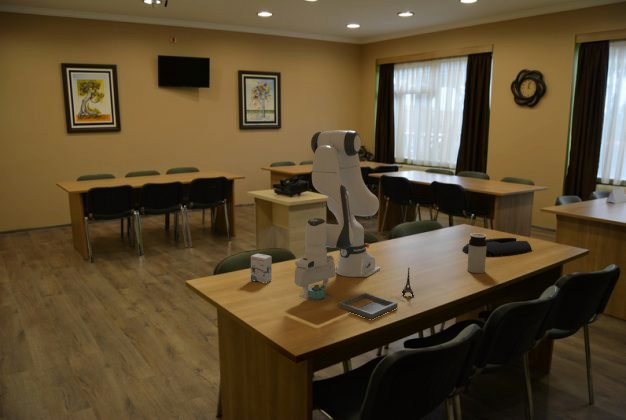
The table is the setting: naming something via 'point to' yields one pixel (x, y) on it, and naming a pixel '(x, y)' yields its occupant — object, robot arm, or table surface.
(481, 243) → the travel mug
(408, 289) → the eiffel tower figurine
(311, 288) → the ring
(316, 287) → the post stand
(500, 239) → the black folded towel
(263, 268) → the ink box
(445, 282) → the table surface
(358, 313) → the tray
